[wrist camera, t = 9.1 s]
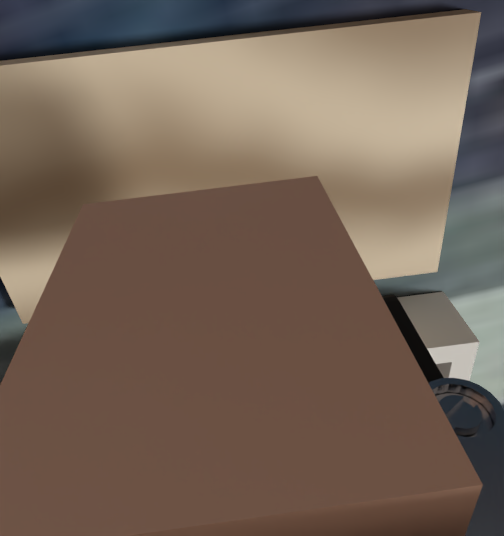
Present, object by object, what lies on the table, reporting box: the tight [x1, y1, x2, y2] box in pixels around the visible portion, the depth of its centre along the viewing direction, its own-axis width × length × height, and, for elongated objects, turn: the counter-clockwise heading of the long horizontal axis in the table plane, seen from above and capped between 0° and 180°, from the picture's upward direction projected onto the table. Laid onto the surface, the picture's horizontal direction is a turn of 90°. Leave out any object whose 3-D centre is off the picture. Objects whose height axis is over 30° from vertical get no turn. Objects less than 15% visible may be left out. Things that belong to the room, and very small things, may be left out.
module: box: [0, 176, 483, 536], centre depth 9 cm, size 6×5×7 cm
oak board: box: [0, 9, 481, 324], centre depth 18 cm, size 10×18×1 cm, turn 95°
